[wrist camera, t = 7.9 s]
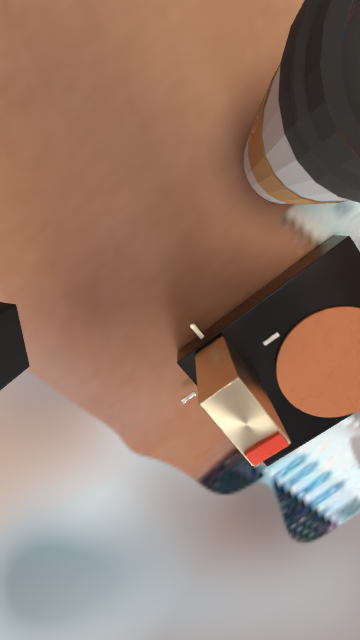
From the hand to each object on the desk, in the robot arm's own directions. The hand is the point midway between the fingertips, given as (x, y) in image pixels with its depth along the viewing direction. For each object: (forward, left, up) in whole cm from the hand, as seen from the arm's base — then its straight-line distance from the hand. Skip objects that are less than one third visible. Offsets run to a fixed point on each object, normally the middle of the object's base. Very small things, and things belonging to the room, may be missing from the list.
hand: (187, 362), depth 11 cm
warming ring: (-6, +12, -13) cm, 19 cm away
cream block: (+1, +7, -13) cm, 15 cm away
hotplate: (-3, +10, -16) cm, 19 cm away
